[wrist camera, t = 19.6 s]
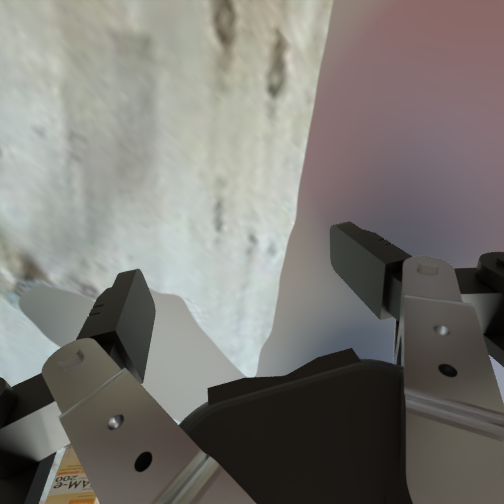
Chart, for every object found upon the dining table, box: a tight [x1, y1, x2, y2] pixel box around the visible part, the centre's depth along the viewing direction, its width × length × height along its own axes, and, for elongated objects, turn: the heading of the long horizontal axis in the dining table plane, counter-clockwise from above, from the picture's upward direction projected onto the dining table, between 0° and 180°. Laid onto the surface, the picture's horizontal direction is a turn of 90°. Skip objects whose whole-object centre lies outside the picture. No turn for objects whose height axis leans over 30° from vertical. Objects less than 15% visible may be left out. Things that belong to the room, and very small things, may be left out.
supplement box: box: [45, 443, 99, 504], centre depth 53 cm, size 8×5×13 cm, turn 76°
